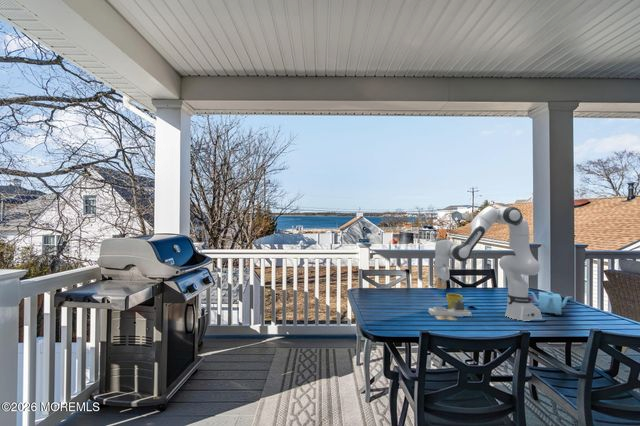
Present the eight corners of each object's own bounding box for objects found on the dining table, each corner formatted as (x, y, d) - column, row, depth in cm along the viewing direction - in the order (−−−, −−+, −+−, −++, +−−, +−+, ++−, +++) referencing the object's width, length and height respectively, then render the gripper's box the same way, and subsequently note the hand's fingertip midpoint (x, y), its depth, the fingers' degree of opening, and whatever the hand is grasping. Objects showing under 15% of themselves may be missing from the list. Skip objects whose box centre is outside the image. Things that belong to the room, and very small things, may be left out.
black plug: (461, 310, 218) (462, 298, 218) (464, 311, 214) (464, 300, 214) (454, 310, 218) (454, 298, 218) (456, 311, 214) (456, 299, 215)
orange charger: (444, 287, 217) (444, 276, 218) (446, 288, 214) (446, 277, 214) (436, 287, 218) (436, 275, 218) (438, 288, 214) (438, 276, 214)
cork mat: (453, 317, 210) (453, 316, 210) (457, 320, 203) (457, 319, 203) (434, 316, 211) (434, 315, 211) (437, 319, 204) (437, 318, 204)
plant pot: (463, 312, 223) (464, 297, 223) (447, 310, 225) (447, 296, 225) (460, 308, 233) (460, 294, 233) (444, 306, 235) (445, 292, 235)
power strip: (466, 313, 219) (467, 308, 219) (471, 316, 212) (471, 310, 212) (428, 312, 220) (428, 306, 220) (431, 315, 213) (431, 309, 213)
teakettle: (527, 306, 243) (527, 286, 243) (570, 312, 230) (570, 291, 231) (528, 314, 222) (528, 292, 222) (575, 321, 209) (575, 298, 209)
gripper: (452, 265, 205) (451, 288, 205) (441, 261, 226) (441, 282, 226) (442, 265, 206) (441, 288, 206) (432, 261, 226) (431, 281, 226)
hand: (441, 284), depth 216 cm, fingers closed on orange charger, 4 cm apart
